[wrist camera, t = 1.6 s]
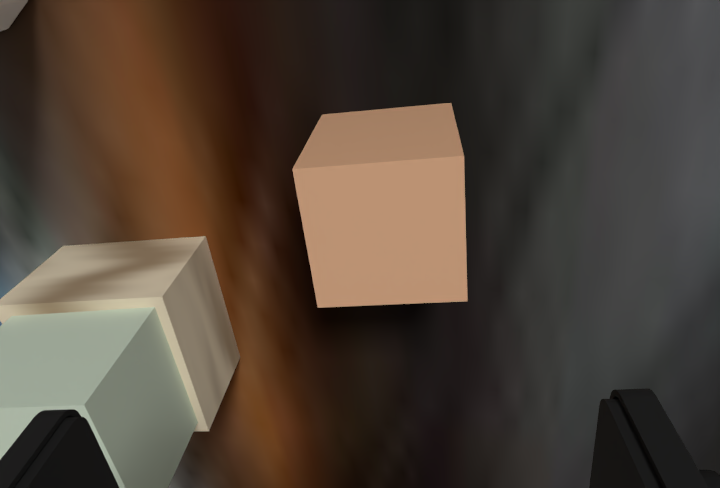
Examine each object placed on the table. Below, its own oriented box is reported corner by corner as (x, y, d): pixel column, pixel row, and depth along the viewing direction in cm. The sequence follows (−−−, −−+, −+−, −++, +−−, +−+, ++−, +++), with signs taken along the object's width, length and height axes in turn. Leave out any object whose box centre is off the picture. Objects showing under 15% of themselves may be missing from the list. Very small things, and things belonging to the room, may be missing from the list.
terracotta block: (450, 102, 21) (463, 155, 15) (454, 220, 23) (467, 301, 18) (322, 114, 21) (292, 169, 16) (338, 227, 24) (317, 307, 18)
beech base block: (206, 234, 24) (162, 296, 20) (241, 355, 28) (208, 431, 23) (65, 244, 25) (-8, 305, 21) (114, 359, 29) (60, 434, 24)
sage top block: (154, 306, 20) (84, 404, 16) (197, 421, 23) (147, 532, 19) (11, 315, 21) (-93, 411, 17) (70, 425, 24) (-7, 532, 20)
